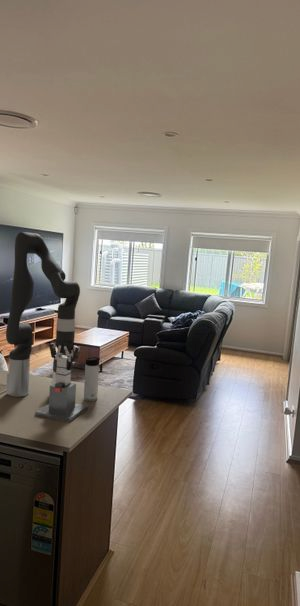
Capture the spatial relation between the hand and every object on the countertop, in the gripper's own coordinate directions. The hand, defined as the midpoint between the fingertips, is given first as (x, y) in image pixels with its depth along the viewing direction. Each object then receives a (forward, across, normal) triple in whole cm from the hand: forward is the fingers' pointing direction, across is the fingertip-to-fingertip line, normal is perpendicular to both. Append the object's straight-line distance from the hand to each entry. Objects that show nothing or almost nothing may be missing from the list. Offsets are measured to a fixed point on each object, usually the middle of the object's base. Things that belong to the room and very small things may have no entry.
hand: (63, 368), depth 173 cm
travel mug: (+19, +4, +20) cm, 28 cm away
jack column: (+13, 0, 0) cm, 13 cm away
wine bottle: (+19, -13, +22) cm, 32 cm away
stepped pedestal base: (+19, 0, 0) cm, 19 cm away
